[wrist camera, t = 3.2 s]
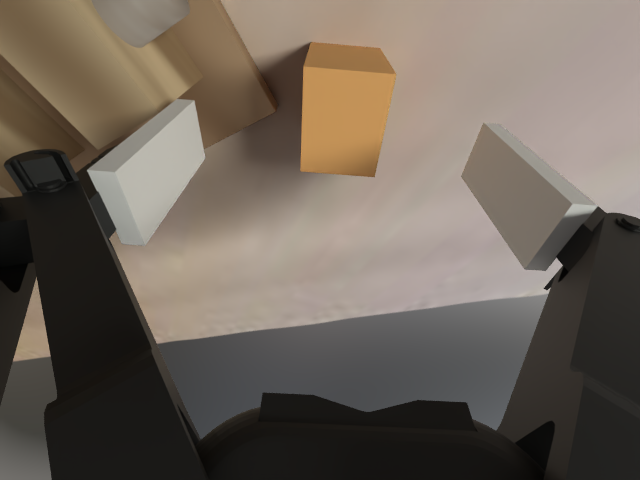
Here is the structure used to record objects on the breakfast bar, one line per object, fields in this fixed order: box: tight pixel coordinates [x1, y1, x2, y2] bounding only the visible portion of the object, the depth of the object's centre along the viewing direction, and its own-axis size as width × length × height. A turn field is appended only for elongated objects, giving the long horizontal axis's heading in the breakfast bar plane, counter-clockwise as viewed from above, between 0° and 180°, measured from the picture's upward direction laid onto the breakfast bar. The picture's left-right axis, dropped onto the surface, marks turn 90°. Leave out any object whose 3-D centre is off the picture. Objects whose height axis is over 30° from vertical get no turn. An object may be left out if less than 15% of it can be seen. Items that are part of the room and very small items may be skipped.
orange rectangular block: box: [300, 42, 396, 177], centre depth 17 cm, size 5×4×6 cm
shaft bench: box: [0, 0, 278, 198], centre depth 16 cm, size 20×14×7 cm
